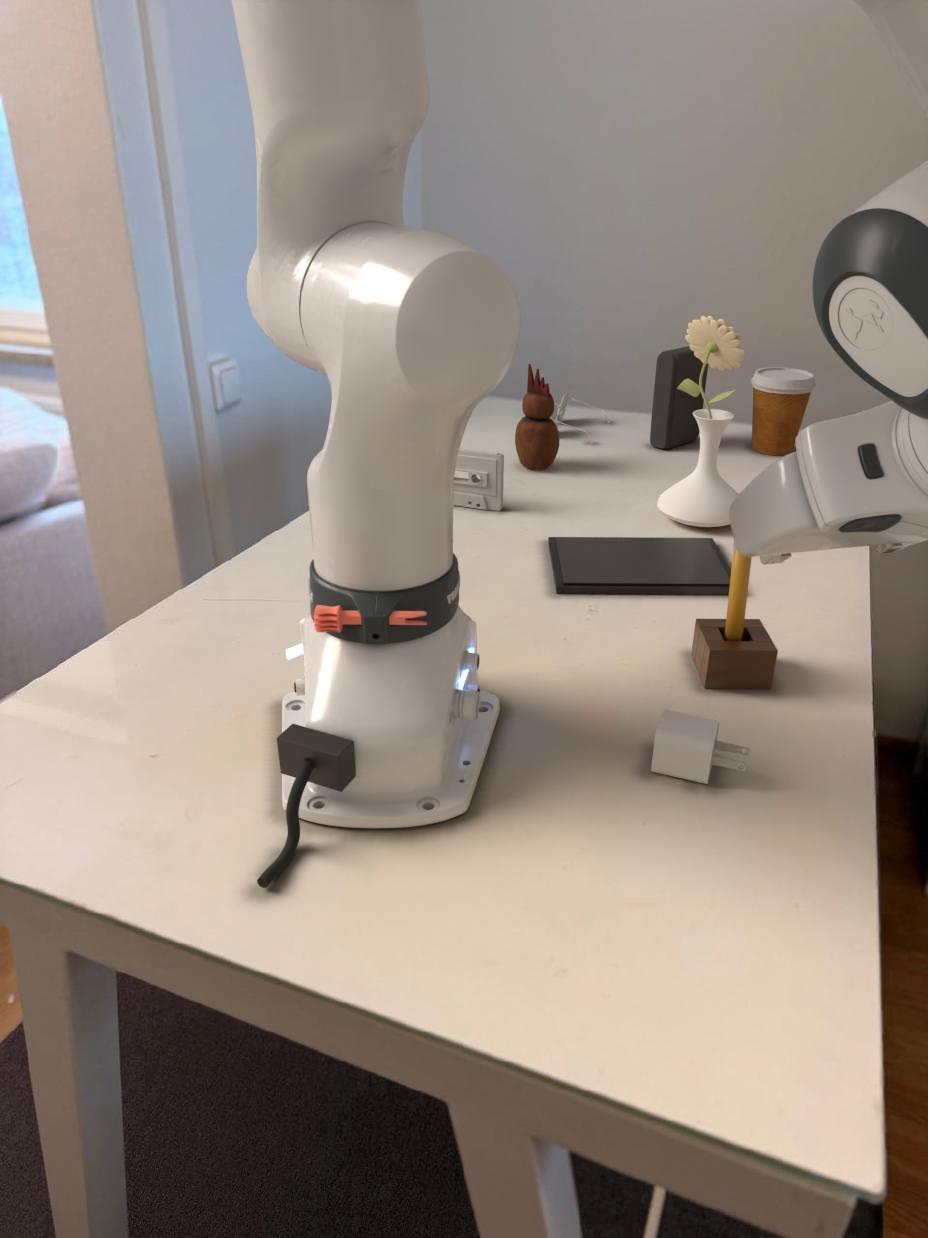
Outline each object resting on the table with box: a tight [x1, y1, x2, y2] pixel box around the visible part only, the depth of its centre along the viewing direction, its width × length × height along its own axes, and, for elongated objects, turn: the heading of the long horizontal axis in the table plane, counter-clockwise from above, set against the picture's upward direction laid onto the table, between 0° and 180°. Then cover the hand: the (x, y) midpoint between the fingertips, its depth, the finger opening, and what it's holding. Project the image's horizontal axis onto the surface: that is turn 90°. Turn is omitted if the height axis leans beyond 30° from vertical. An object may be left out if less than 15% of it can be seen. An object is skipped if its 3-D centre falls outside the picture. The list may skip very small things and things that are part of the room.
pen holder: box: [690, 618, 779, 690], centre depth 83 cm, size 6×6×4 cm
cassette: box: [453, 447, 505, 512], centre depth 121 cm, size 12×2×8 cm, turn 68°
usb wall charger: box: [650, 708, 751, 785], centre depth 70 cm, size 4×7×4 cm, turn 69°
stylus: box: [724, 539, 753, 641], centre depth 82 cm, size 2×2×15 cm
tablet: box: [547, 536, 731, 596], centre depth 104 cm, size 14×20×1 cm
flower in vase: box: [656, 315, 746, 528], centre depth 113 cm, size 13×11×25 cm
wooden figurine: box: [514, 363, 561, 471], centre depth 133 cm, size 7×6×15 cm
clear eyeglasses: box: [550, 392, 611, 444], centre depth 152 cm, size 14×8×5 cm, turn 160°
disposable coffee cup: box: [750, 366, 817, 456], centre depth 141 cm, size 10×10×12 cm
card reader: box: [649, 345, 709, 450], centre depth 143 cm, size 9×4×15 cm, turn 130°
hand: (826, 548), depth 67 cm, fingers open, 8 cm apart
